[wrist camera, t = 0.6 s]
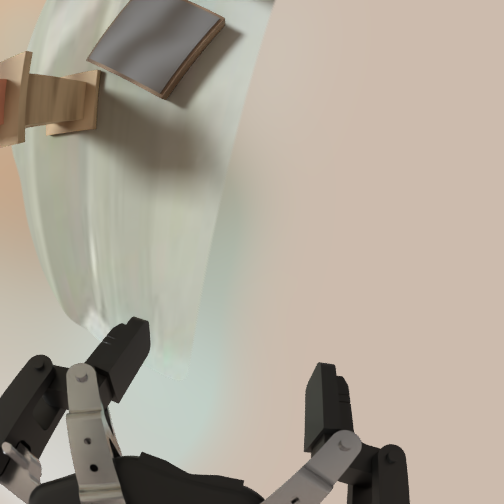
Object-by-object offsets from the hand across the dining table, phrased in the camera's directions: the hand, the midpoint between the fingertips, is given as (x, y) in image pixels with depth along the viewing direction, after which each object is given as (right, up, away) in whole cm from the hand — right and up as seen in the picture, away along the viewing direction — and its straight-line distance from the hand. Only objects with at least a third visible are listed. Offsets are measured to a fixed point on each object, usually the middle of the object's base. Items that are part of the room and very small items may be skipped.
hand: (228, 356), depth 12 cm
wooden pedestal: (-22, +24, +14) cm, 36 cm away
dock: (-11, +30, +12) cm, 34 cm away
